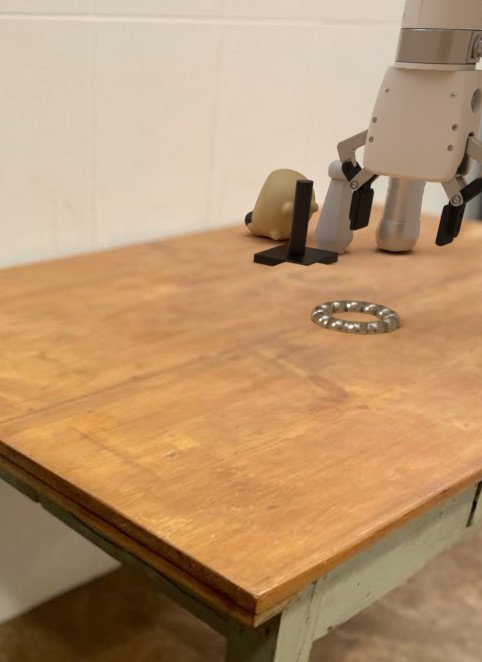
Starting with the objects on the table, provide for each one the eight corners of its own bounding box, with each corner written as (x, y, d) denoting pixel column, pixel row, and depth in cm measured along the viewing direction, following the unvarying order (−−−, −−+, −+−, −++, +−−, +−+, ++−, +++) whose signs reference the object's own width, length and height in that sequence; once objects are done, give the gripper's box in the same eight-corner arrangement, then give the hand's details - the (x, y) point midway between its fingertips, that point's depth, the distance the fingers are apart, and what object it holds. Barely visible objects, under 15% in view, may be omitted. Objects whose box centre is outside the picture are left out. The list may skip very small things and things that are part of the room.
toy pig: (296, 256, 137) (274, 204, 140) (337, 209, 127) (312, 153, 129) (248, 261, 133) (226, 207, 136) (285, 213, 123) (261, 155, 125)
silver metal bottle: (365, 251, 126) (389, 107, 115) (383, 243, 130) (408, 103, 120) (405, 258, 122) (433, 109, 112) (423, 249, 127) (452, 106, 116)
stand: (337, 260, 121) (349, 180, 115) (306, 272, 115) (317, 189, 110) (285, 250, 126) (294, 173, 120) (253, 262, 121) (260, 181, 115)
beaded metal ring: (412, 326, 95) (416, 310, 94) (373, 349, 89) (376, 331, 88) (336, 309, 101) (338, 293, 100) (293, 329, 95) (295, 312, 94)
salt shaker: (304, 251, 126) (316, 160, 119) (326, 245, 129) (338, 156, 122) (336, 258, 122) (350, 164, 116) (358, 251, 126) (372, 160, 119)
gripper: (544, 54, 75) (494, 244, 84) (371, 47, 85) (343, 218, 94) (515, 56, 71) (466, 257, 80) (336, 48, 80) (310, 228, 89)
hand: (399, 236), depth 87 cm, fingers open, 9 cm apart
